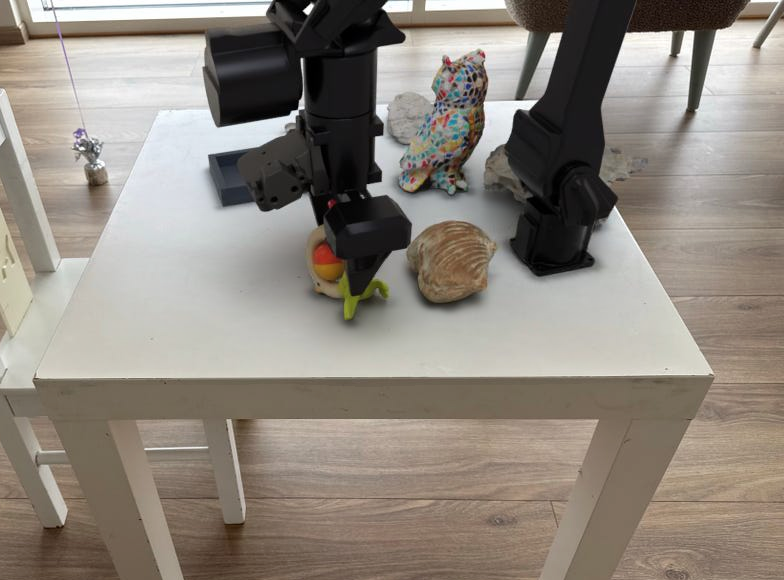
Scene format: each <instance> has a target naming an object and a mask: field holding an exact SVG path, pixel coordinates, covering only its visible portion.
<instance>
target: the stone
mask: <svg viewBox="0 0 784 580" xmlns="http://www.w3.org/2000/svg"><path fill="white" fill-rule="evenodd" d="M432 105H433V103H431V102H430V100H428V99H427V98H426V97H425V96H424V95H421V94H419V93H417V92H413V91H406V92H404V93H403V92H402V93H399V94H396V95H395V96H394V99H393V100H392V101H390V103H388V105H387V107H386V110H387V111H388V113H387V116H386V128H387V131H388V132H389V133H390V134H391V136H393V137H395V138H396V140H397V142H399V143H401V144H402V145H410V144H411V142H412V140H413V139H414V137H415V135H416V133H417V131H418V129H419V127H420V124H421V123H422V121H423V119H424V117H425V115H426V114H427V112H428V110H429V109H430V107H431V106H432Z"/></svg>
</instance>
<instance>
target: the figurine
mask: <svg viewBox="0 0 784 580" xmlns="http://www.w3.org/2000/svg"><path fill="white" fill-rule="evenodd" d="M441 58H442V59H441V64H442V65H441V66H440V67H439V68H438V70H437V71H436V73H435V76H434V77H433V80H432V84H431V86H430V88H431V90H432V91H433V92H434V94H435V99H434V102H433V103H432V104H433V105H432V106H431V107H430V109H429V110H428V112H427V114H426V115H425V117H424V119H423V121H422V123H421V124H420V127H419V129H418V131H417V133H416V135H415V137H414V139H413V140H412V142H411V144H408V147H407V149H406V151H405V152H404V154H403V156H402V157H401V158H400V160H399V161H398V163H399V168H400V169H402V171H401V172H400V174H399V176H398V178H397V179H398V186H400V188H401V189H403V190H404V191H406V192H409V193H413V194H414V193H418V192H420V191H424V190H429V189H431V188H435V189H443V190H446V192H447V193H448V194H449V195H454V194H456V192H465V191H468V190H469V189H470V188H469V187H470V186H469V183H468V182H466V177H465V173H464V172H463V171H462V169H463V167H464V165H465V164H466V163H467V162H468V160H469V159H470V158H471V156H472V154H473V152H474V151H475V149H476V147H477V146H478V144H479V143H480V141H481V139H482V137H483V133H484V129H485V126H486V115H485V101H486V96H487V93H488V89H489V76H488V74H487V70H486V68H485V65H484V64H485V62H486V54H485V51H484V50H483V49H481V48H476V50H475V51H474V50H472V51H470V52H469V53H467V54H463V55H462V56H460V57H459V58H458V59H457V58H456V59H455V60H453V61H451V59H450V57H449V56H448V55H447V54H444V55H442V57H441Z"/></svg>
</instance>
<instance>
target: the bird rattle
mask: <svg viewBox="0 0 784 580" xmlns="http://www.w3.org/2000/svg"><path fill="white" fill-rule="evenodd" d="M335 203H336V202H335V201H334V200H330V201H329V202H328V206H329V208H331V207H332V206H333V205H334V204H335ZM325 237H326V234H325V230H324V224H323V225H320V226H316V227H315V228H313V230H312V231H311V232H310V234H309V235H308V237H307V240H306V245H305V259H306V265H307V269H308V271H309V274H310V276H311V278H312V280H313V283H314V290H315V292H316V293H318V294H325V295H326V296H328V297H330V298H334V299H344V305H343V319H344V320H348V321H351V320H352V319H353V317H354V316H355V312H356V311H355V310H356V308H357V305H358V302H359V301H360V300H366V299H368V298H369V297H371V296H372V295H373V294H375V292H376V289H377V290H378V293H379V294H380V296H381V297H383V298H384V299H390V294H389V291H390V288H389V287H390V286H388V285H387V283H385V282H384V281H383V280H382V279H380V278H373V279H372V281H371V282H370V284H369V285H368V287H367V288H366V290H365V292H364V293H363V294H362V295H359V296H354V297H352V296H351V295H350V292H349V287H348V283H347V278H346V273H345V268H344V262H343V259H339V258H336V257H335V256H334V255H333V253H332V252H331V250H330V248H329V246H328V244H327V242H326V240H325ZM338 280H339V281H338Z"/></svg>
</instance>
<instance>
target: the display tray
mask: <svg viewBox="0 0 784 580" xmlns="http://www.w3.org/2000/svg"><path fill="white" fill-rule="evenodd" d="M258 147H259V146H256V147H249V148H242V149H236V150H229V151H223V152H217V153H209V154H207V159H208V166H209V172H210V175H211V178H212V181H213V183H214V186H215V189H216V191H217V195H218V197H219V201H220V203H221V206H222V207H229V206H235V205H241V204H247V203H253V202H255V200H254V198H253V196H252V195H251V193H250V191H249V189H248V187H247V185H246V183H245V181H244V179H243V177H242V175H241V172H240V170H239V168H238V165H237V162H238V160H239V158H240V157H241V156H243V155H244V154H246V153H248V152H250V151H252V150H254V149H256V148H258ZM303 194H308V192H307V191H306V190H305V191H304V192H303Z"/></svg>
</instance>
